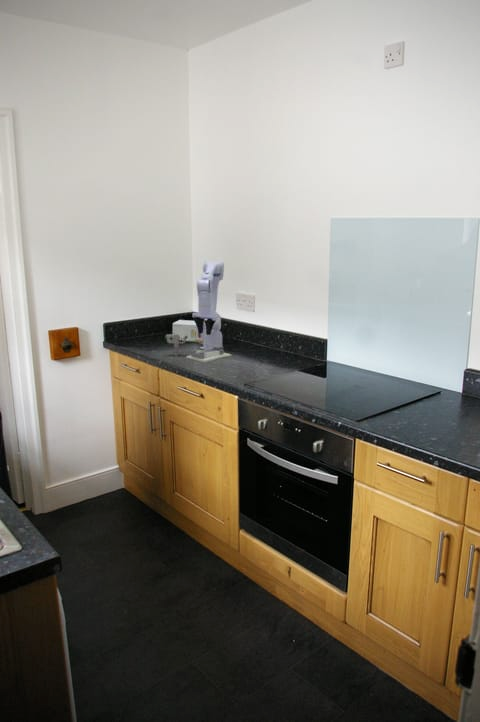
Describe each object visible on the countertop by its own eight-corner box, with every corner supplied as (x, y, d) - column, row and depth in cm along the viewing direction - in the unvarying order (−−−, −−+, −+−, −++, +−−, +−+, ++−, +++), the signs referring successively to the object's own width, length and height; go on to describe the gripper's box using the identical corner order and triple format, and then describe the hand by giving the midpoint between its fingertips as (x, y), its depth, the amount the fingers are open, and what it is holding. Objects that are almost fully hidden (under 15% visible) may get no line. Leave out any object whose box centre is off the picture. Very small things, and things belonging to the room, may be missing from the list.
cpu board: (213, 352, 286) (213, 344, 285) (231, 356, 278) (231, 348, 277) (186, 358, 273) (186, 350, 272) (204, 362, 265) (204, 354, 264)
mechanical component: (186, 356, 276) (186, 335, 274) (165, 356, 276) (164, 335, 274) (187, 355, 279) (187, 334, 277) (166, 354, 279) (165, 334, 277)
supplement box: (172, 340, 315) (171, 323, 312) (179, 336, 327) (179, 319, 325) (202, 342, 311) (202, 324, 309) (209, 337, 324) (209, 320, 321)
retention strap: (215, 347, 281) (215, 345, 281) (221, 349, 278) (222, 346, 278) (194, 341, 270) (195, 339, 270) (201, 342, 267) (201, 340, 267)
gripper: (187, 304, 275) (187, 332, 278) (209, 307, 266) (209, 337, 269) (198, 303, 280) (198, 331, 283) (220, 306, 271) (220, 335, 274)
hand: (204, 333), depth 277 cm, fingers open, 5 cm apart
